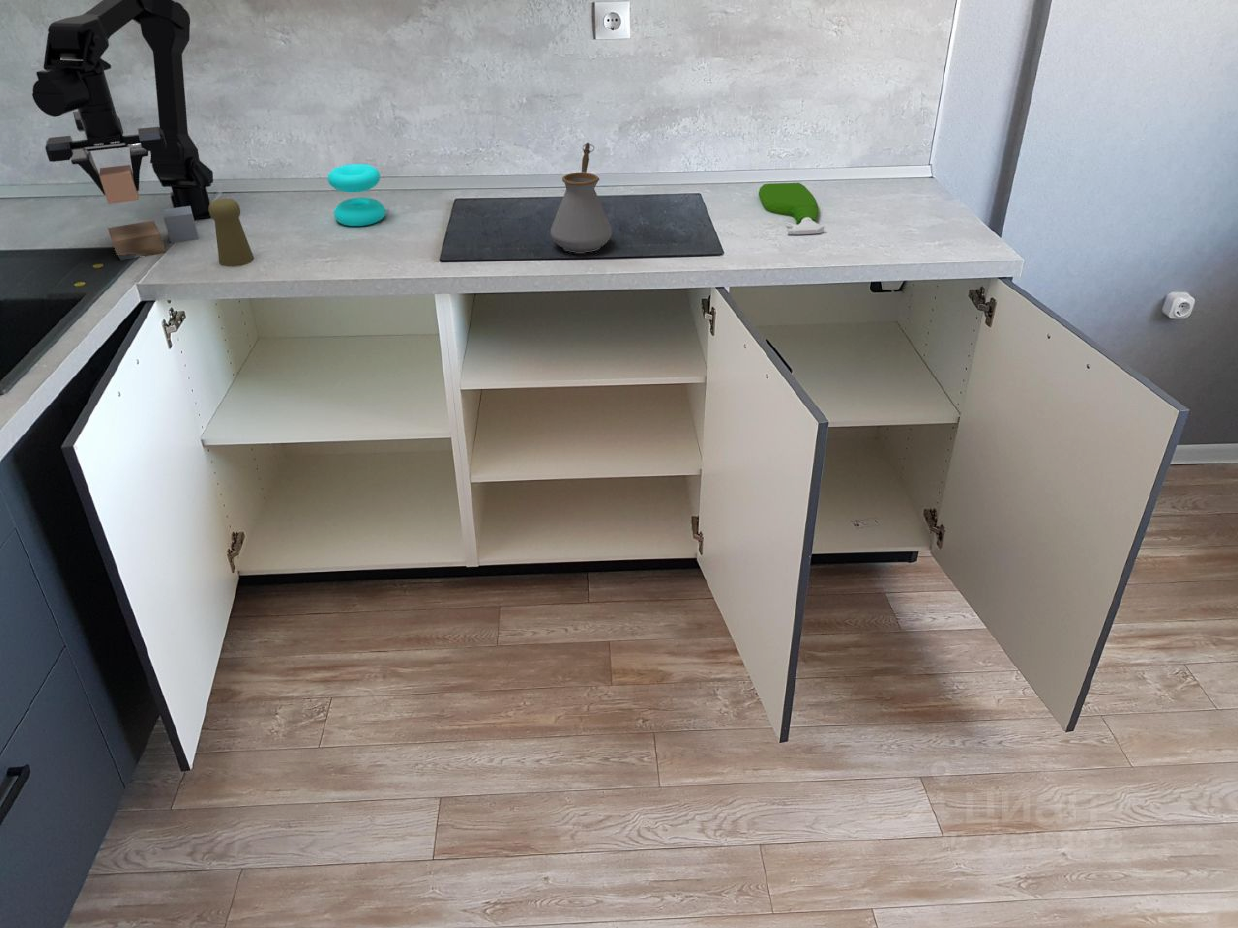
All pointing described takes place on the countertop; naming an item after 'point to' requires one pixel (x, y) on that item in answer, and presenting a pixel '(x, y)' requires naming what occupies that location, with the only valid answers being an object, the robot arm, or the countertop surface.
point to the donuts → (356, 181)
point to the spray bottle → (792, 206)
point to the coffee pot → (581, 213)
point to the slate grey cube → (180, 224)
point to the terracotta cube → (118, 184)
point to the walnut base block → (137, 239)
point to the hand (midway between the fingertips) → (121, 192)
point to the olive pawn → (230, 233)
